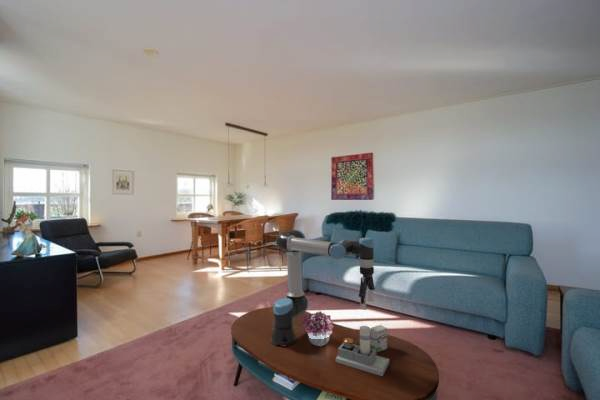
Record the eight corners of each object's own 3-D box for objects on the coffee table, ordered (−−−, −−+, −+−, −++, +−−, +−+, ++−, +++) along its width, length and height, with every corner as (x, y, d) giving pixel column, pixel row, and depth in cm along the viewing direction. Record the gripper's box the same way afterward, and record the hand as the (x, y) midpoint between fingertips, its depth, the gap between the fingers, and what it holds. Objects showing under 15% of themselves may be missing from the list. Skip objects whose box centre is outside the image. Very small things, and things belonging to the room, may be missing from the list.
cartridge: (358, 360, 145) (358, 328, 145) (361, 355, 149) (361, 325, 149) (368, 363, 142) (368, 331, 142) (371, 358, 147) (371, 327, 147)
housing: (335, 362, 147) (335, 350, 147) (345, 350, 158) (345, 339, 158) (382, 376, 135) (382, 363, 135) (389, 362, 146) (389, 351, 146)
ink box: (377, 353, 156) (376, 331, 156) (370, 349, 160) (370, 327, 160) (387, 348, 160) (387, 327, 160) (380, 344, 164) (380, 324, 165)
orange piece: (342, 350, 149) (342, 340, 150) (345, 346, 154) (345, 336, 154) (351, 353, 147) (351, 343, 147) (354, 349, 151) (354, 339, 151)
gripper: (366, 272, 143) (367, 314, 143) (379, 262, 165) (379, 299, 165) (352, 270, 147) (352, 311, 147) (366, 261, 169) (367, 297, 169)
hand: (367, 305), depth 156 cm, fingers open, 13 cm apart
